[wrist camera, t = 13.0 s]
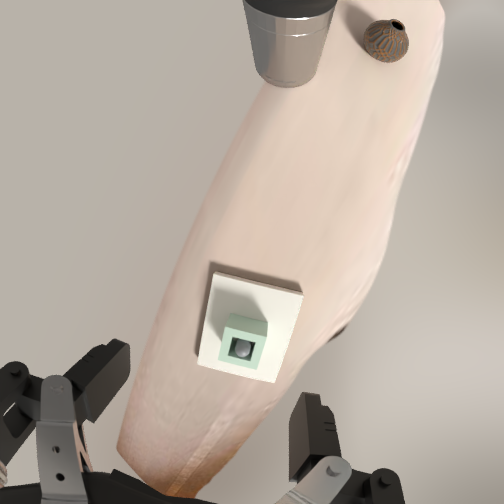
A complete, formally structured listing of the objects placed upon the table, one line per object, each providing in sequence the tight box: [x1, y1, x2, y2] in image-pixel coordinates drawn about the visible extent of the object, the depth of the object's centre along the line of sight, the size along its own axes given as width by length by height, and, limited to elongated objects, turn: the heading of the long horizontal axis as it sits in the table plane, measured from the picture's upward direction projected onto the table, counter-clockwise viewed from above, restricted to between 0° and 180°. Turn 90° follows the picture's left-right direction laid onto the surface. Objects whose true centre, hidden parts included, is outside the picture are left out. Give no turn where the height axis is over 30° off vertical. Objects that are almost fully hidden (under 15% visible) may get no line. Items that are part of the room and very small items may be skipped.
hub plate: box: [197, 271, 304, 383], centre depth 37 cm, size 16×13×7 cm
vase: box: [364, 19, 409, 63], centre depth 26 cm, size 7×7×9 cm
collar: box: [218, 313, 268, 370], centre depth 37 cm, size 6×6×4 cm
